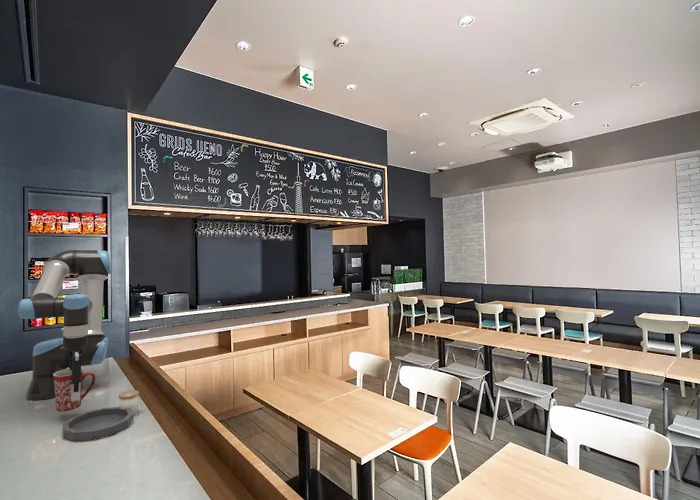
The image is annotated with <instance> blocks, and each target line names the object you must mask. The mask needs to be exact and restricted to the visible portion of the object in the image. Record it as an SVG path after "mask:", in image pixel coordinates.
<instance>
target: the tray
mask: <svg viewBox="0 0 700 500" xmlns="http://www.w3.org/2000/svg"><path fill="white" fill-rule="evenodd" d="M133 420H134V415H133V412H132V410H131V409H120V408H119V406H112V407H110V406H109V407H101V408H98V409H97V408H96V409H93V410H89V411H85V412H83V413H80V414H77V415H75V416H72V417H70V418H69V419H68V420H67V421H65V422H64V423H63V424H62V437H63V439H65V440H66V441H69V442H78V443H79V442H80V443H81V442H90V441H89V440H91V441H95V440H94V439H97V440H100V439H99V438H101V439H103V438H102V437H105V438H107V437H106V436H108V437H110V436H109V435H111V436H113V435H112V434H114V435H116V434H118V433H117V432H119V431H121V430H123V429H124V430H126V429H127V428H129V427H130V426H131V425H132V423H133ZM131 422H132V423H131ZM130 424H131V425H130ZM129 425H130V426H129ZM128 426H129V427H128ZM126 427H127V428H126ZM125 428H126V429H125ZM124 430H123V431H124ZM121 432H122V431H121ZM115 433H116V434H115ZM119 433H120V432H119Z"/></svg>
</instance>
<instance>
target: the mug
mask: <svg viewBox="0 0 700 500" xmlns="http://www.w3.org/2000/svg"><path fill="white" fill-rule="evenodd" d="M95 375H96V374H94V373H93V372H90V371H89V372H86V373H84V368H82V367H81V390H80V400H76V401H71V384H69V383H70V382H72V370H70V369H69V368H67V369H64V370H61V371H58V372H55V373H54V374H53V376H54V385H55V397H54V399H55V411H56V412H58V413H63V412H64V413H65V412H69V411H70V412H71V411H74V410H76V409H78V408H79V407H81V405H82V400H83V399H84V398H85V397H86V396H87V395H88V394H89V392H90V391H91V390H92V389H93V387H94V386H95V382H96V376H95ZM88 376H91V377H92V381H91V383H90V385H89V386H88V388H87V389H86V390H85V391H84V392H83V393H82V391H83V390H82V389H83V382H84V380H85V378H86V377H88Z"/></svg>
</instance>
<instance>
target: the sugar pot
mask: <svg viewBox="0 0 700 500" xmlns="http://www.w3.org/2000/svg"><path fill="white" fill-rule="evenodd" d="M139 394H140V391H139V390H136V389H132V390H131V389H129V390H124V391H122V392H120V393H119V394H118V398H119V406H118V407H119V408H120V409H131V410H132V412H133V414H135V415H137V414H138V413H137V412H138V411H139V408H138V407H139V405H138V403H139V401H138V400H139ZM136 413H137V414H136Z"/></svg>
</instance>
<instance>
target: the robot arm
mask: <svg viewBox="0 0 700 500" xmlns="http://www.w3.org/2000/svg"><path fill="white" fill-rule="evenodd" d="M109 253H110V252H108V251H107V250H100V249H90V250H89V249H85V250H84V249H69V250H67V249H66V250H64V251H60V252H58V253H56V254H54V255H53V256H51V257H50V258H48V259H47V260H46V261H45V263H44V265H43V267H42V272H43V274H42V275H41V278H40V279H39V282H38V283H37V286H36V287H35V289H34V291H33V293H32V296H31V297H30V298H23V299H22V300H20V301H19V304H18V307H17V308H18V309H17V311H18V316H19V318H20V319H22V320H25V319H26V320H27V319H28V320H35V319H49V318H63V327H62V328H61V329H60V331H62V333H63V334H62V336H63V337H59V338H58V337H57V338H53V339H52V338H51V339H48V340H44V341H41V342H38V343H37V344H35V345H34V346H33V348H32V349H33V351H32V378H31V381H30V383H29V386H28V388H27V391H26V394H25V396H26V400H30V401H42V400H43V401H44V400H49V399H53V398H54V399H55V385H54V376H53V374H54V373H55V372H58V371H61V370H64V369H70V370H72V382H70V383H69V384H71V401H76V400H80V390H81V368H82V367H88V366H90V367H91V366H95V365H101V364H102V363H103V362H104V361H105V359H106V356H107V351H108V345H109V338H108V337H106V334H105V333H104V332H103V331H102V321H103V319H102V318H103V302H104V301H103V299H104V298H103V297H104V281H106V280H107V279H108V275H111V274H112V265H111V258H110V254H109ZM68 275H78V276H77V278H78V279H79V280H80V281H81V287H80V289H81V290H80V294H76V293H75V294H69V295H68V294H67V295H65V296H64V297H58V295H59V291H60V289H61V287H62V285H63V282H64V279H65V278H66V277H68Z"/></svg>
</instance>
